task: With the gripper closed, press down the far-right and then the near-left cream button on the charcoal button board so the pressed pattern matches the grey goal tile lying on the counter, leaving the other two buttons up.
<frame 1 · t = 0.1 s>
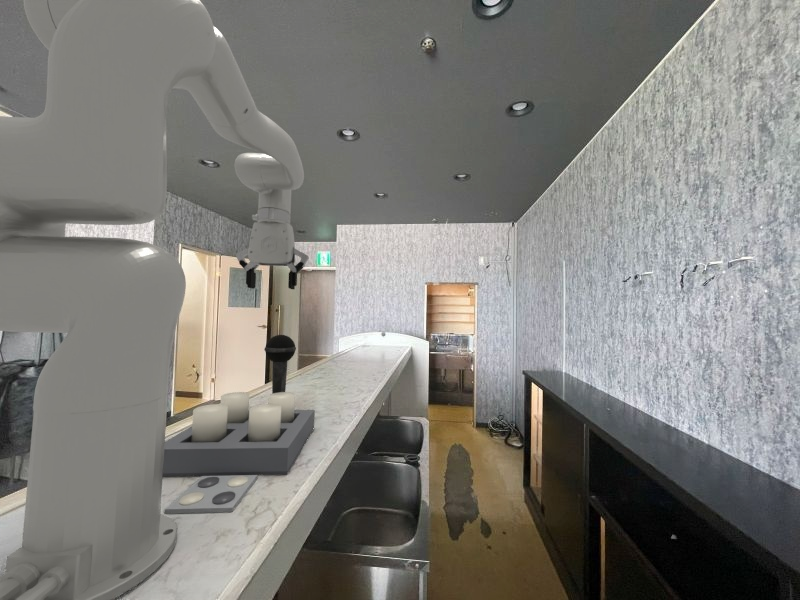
hand: (271, 288, 76), 31 cm above the counter, tool pointing down, fingers open, 9 cm apart
button near left: (210, 423, 52), point 6 cm above the counter, slide at 0.0 cm
button far left: (234, 407, 61), point 6 cm above the counter, slide at 0.0 cm
microphone: (277, 423, 71), on the counter
board: (247, 448, 57), on the counter
button near right: (264, 422, 53), point 6 cm above the counter, slide at 0.0 cm
button far right: (281, 407, 62), point 6 cm above the counter, slide at 0.0 cm
goal tile: (215, 494, 42), on the counter
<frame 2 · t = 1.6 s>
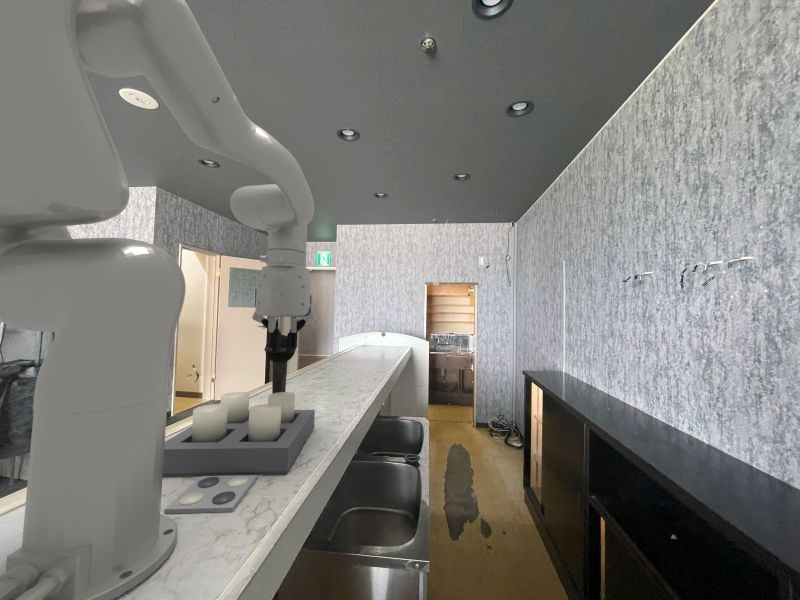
hand: (283, 351, 63), 17 cm above the counter, tool pointing down, fingers closed
nothing on the counter moved.
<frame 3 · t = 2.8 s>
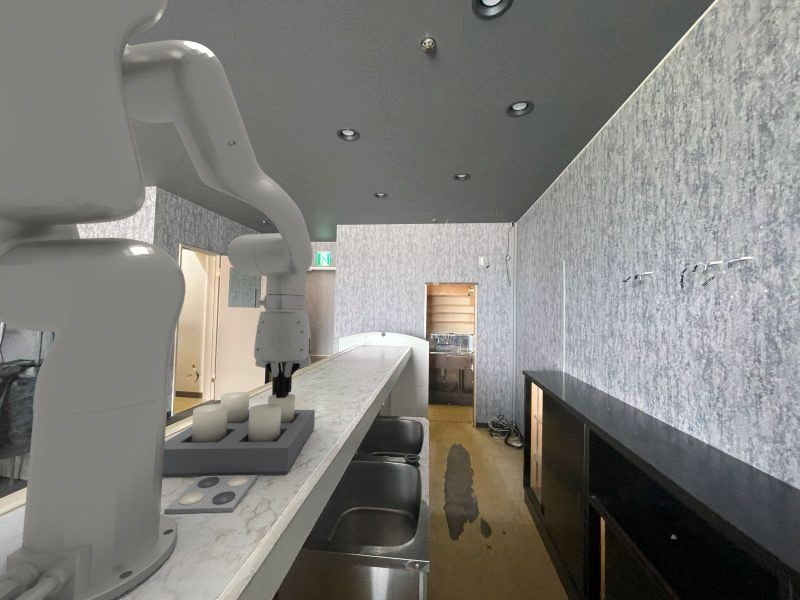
hand: (282, 395, 62), 8 cm above the counter, tool pointing down, fingers closed
button far right: (281, 409, 62), point 6 cm above the counter, slide at -0.3 cm, touching gripper
everything else where it was.
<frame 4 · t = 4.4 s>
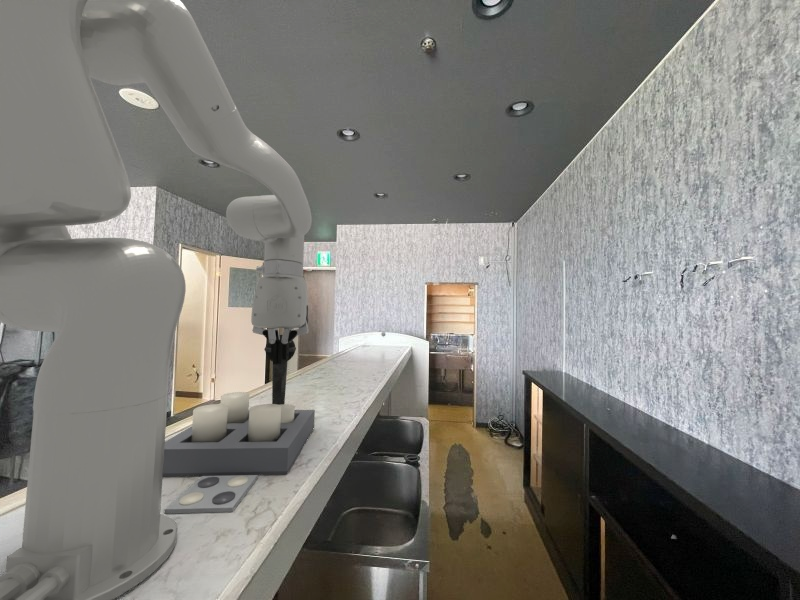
hand: (279, 363, 62), 15 cm above the counter, tool pointing down, fingers closed
button far right: (280, 420, 62), point 3 cm above the counter, slide at -2.5 cm
everything else where it was.
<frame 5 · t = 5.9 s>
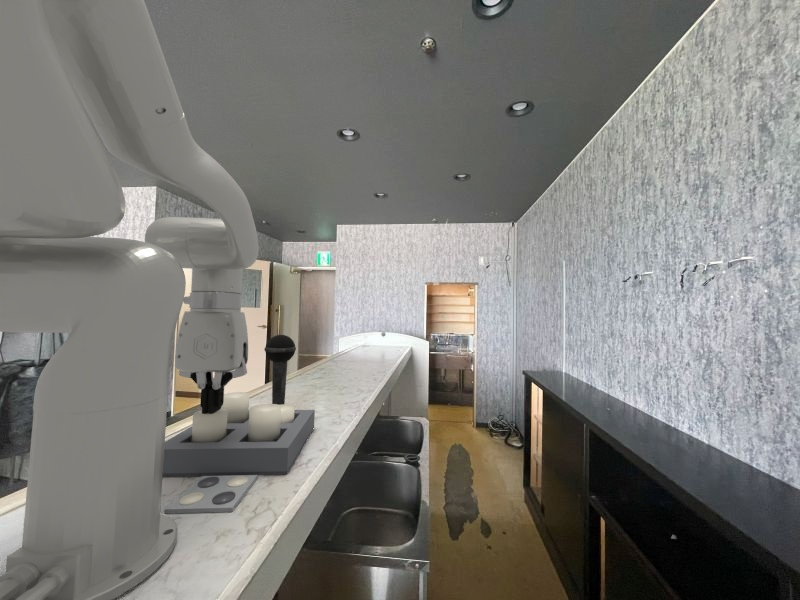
hand: (211, 411, 53), 8 cm above the counter, tool pointing down, fingers closed
button near left: (209, 427, 52), point 5 cm above the counter, slide at -0.7 cm, touching gripper
everything else where it was.
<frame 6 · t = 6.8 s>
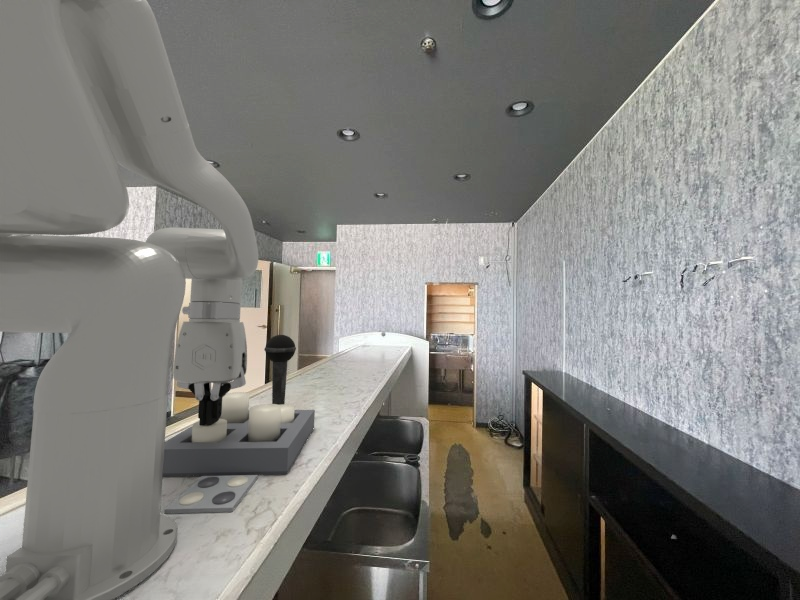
hand: (209, 422, 52), 6 cm above the counter, tool pointing down, fingers closed
button near left: (209, 438, 52), point 3 cm above the counter, slide at -2.5 cm
everything else where it was.
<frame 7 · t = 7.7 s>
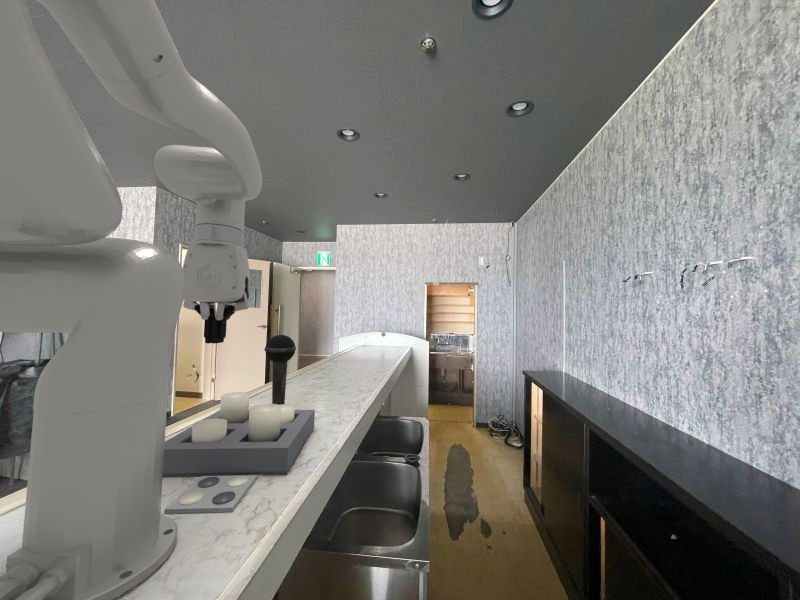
hand: (214, 342, 55), 19 cm above the counter, tool pointing down, fingers closed
nothing on the counter moved.
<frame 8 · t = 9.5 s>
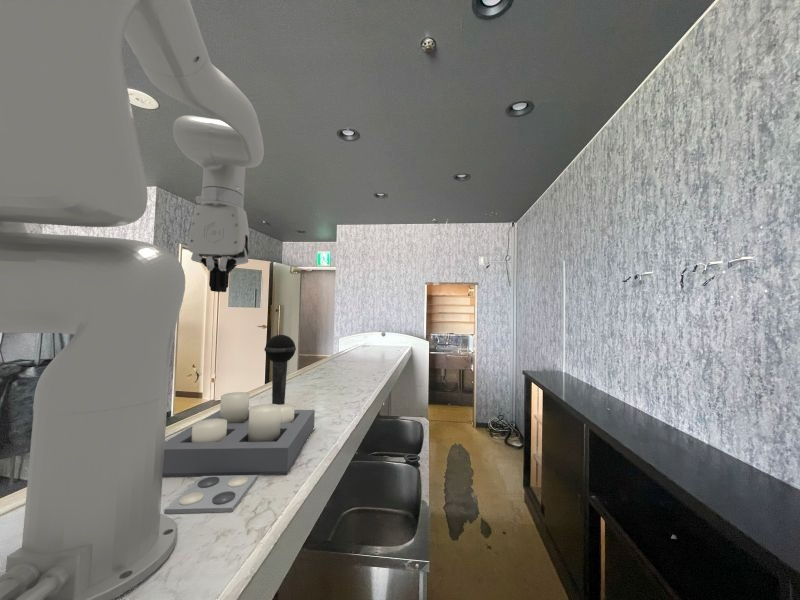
hand: (218, 291, 63), 29 cm above the counter, tool pointing down, fingers closed
nothing on the counter moved.
at the end: button far right slide at -2.5 cm; button near left slide at -2.5 cm; button near right slide at 0.0 cm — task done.
